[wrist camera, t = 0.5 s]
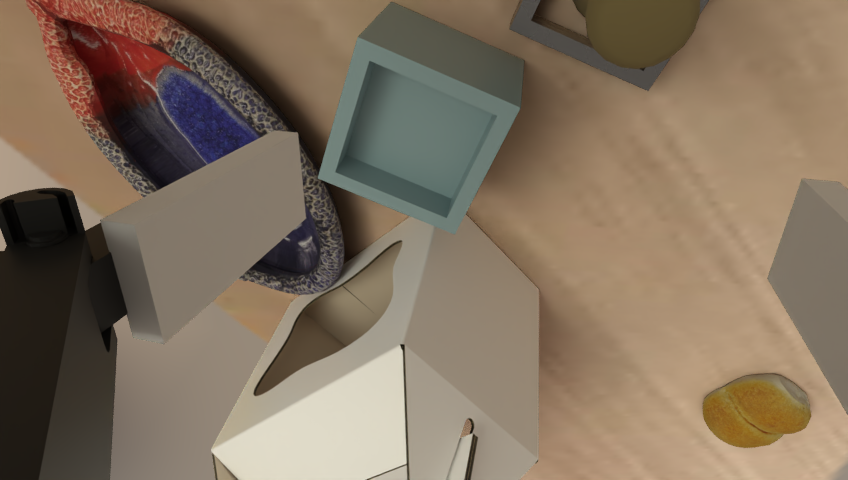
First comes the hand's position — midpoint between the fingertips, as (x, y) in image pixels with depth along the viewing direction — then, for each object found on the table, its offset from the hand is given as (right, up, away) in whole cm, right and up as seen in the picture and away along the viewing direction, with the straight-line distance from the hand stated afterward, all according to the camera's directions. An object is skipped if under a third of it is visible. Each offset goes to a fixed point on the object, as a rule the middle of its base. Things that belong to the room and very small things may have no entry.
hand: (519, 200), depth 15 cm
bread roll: (+30, -17, +39) cm, 51 cm away
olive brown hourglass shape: (+10, +15, +19) cm, 27 cm away
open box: (-2, +10, +26) cm, 28 cm away
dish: (-19, +8, +32) cm, 38 cm away
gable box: (-4, -6, +38) cm, 39 cm away
